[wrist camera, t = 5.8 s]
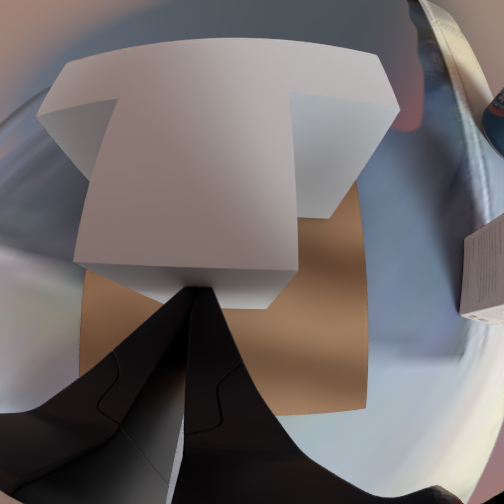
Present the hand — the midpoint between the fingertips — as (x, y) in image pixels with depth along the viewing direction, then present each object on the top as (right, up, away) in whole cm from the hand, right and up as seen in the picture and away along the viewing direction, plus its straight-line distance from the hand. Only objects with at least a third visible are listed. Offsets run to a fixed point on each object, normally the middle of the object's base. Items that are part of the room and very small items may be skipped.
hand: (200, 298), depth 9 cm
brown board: (0, +2, +8) cm, 8 cm away
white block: (0, +2, +7) cm, 7 cm away
